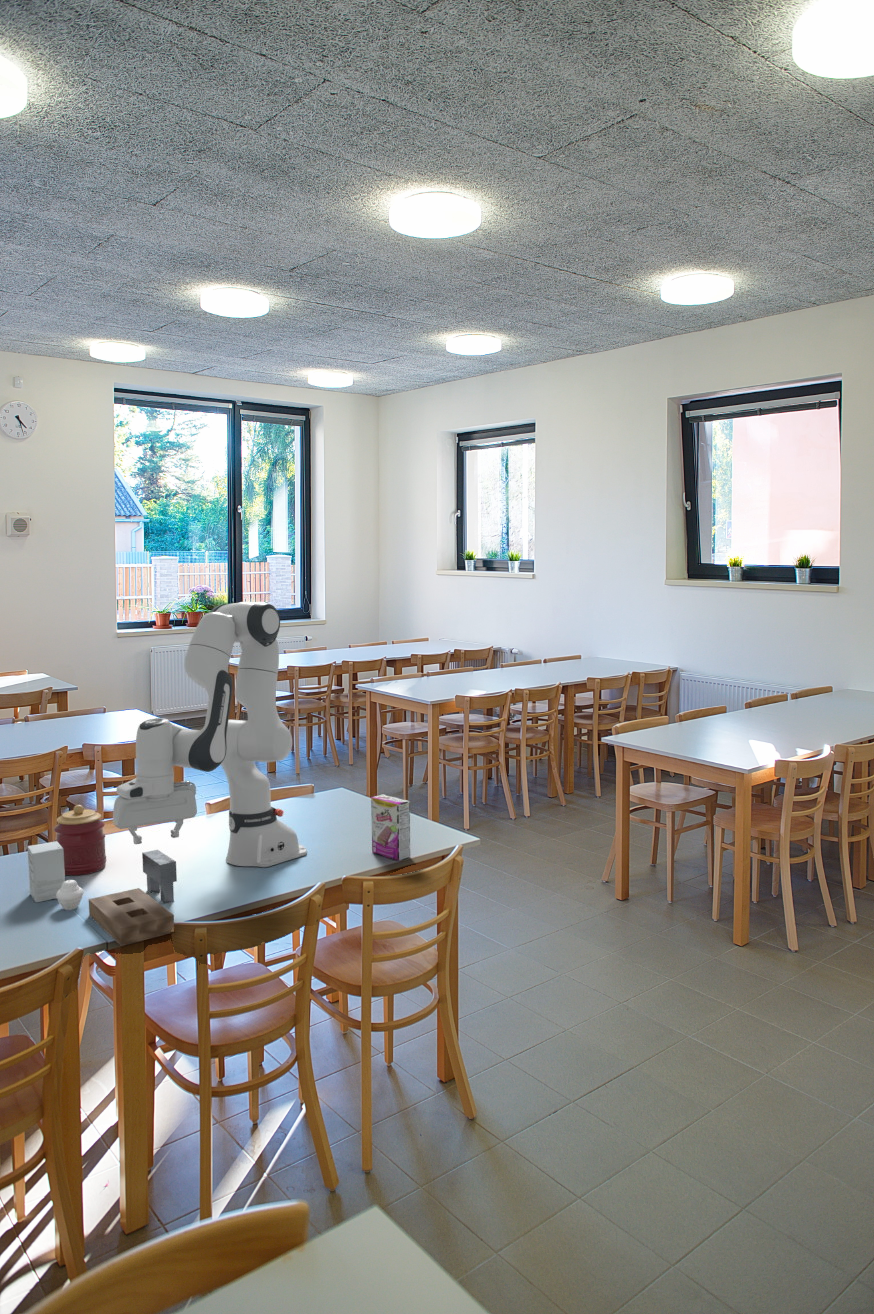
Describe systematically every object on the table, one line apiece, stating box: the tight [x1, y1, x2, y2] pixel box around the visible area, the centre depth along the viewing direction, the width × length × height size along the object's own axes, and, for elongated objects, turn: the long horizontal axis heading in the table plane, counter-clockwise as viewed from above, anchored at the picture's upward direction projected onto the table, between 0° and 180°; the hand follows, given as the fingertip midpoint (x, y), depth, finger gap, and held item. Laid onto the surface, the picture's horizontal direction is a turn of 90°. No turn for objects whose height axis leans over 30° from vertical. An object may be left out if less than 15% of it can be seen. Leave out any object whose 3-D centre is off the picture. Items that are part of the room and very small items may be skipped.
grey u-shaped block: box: [141, 849, 178, 904], centre depth 230 cm, size 4×12×10 cm, turn 38°
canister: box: [53, 804, 107, 876], centre depth 251 cm, size 13×13×18 cm
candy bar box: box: [370, 793, 411, 862], centre depth 260 cm, size 11×5×16 cm, turn 47°
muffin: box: [56, 879, 84, 911], centre depth 223 cm, size 6×6×7 cm
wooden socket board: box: [88, 887, 175, 947], centre depth 213 cm, size 12×22×4 cm, turn 38°
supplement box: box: [26, 841, 66, 903], centre depth 231 cm, size 7×7×13 cm
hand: (156, 840), depth 229 cm, fingers open, 8 cm apart
